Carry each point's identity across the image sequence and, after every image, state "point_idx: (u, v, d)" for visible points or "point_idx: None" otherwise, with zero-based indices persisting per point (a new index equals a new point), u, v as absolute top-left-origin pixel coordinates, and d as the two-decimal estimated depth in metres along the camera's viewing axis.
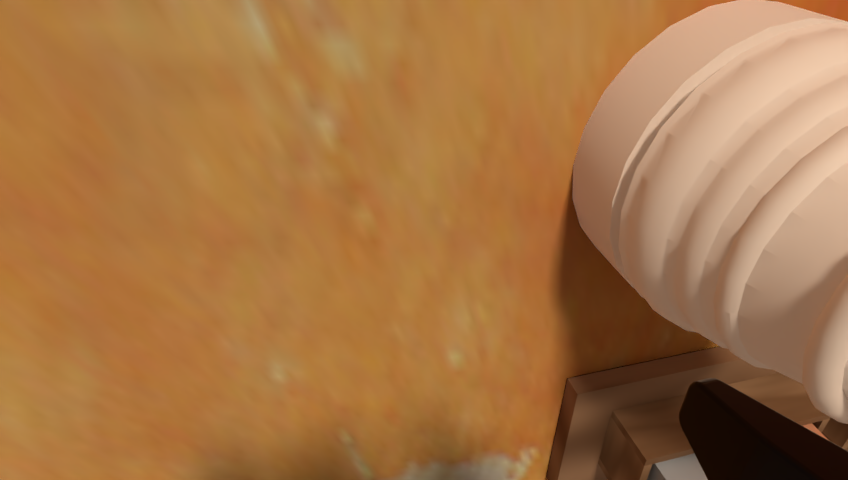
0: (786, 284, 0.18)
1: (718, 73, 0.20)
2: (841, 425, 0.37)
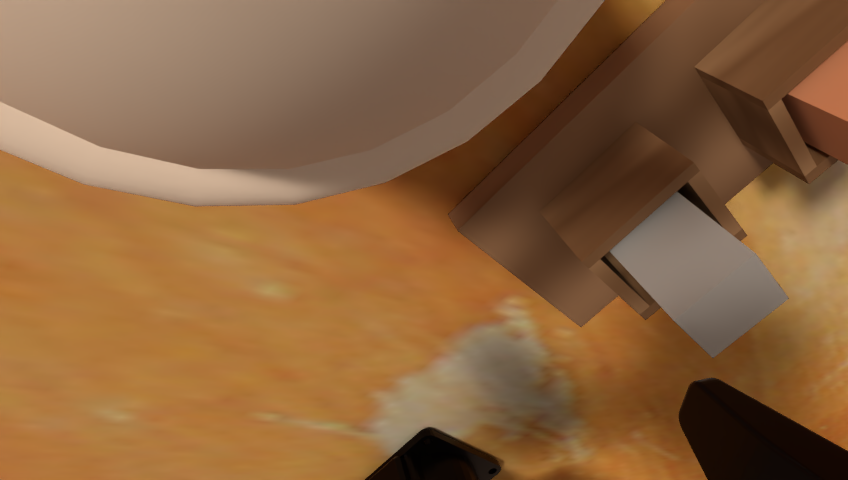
0: None
1: None
2: None
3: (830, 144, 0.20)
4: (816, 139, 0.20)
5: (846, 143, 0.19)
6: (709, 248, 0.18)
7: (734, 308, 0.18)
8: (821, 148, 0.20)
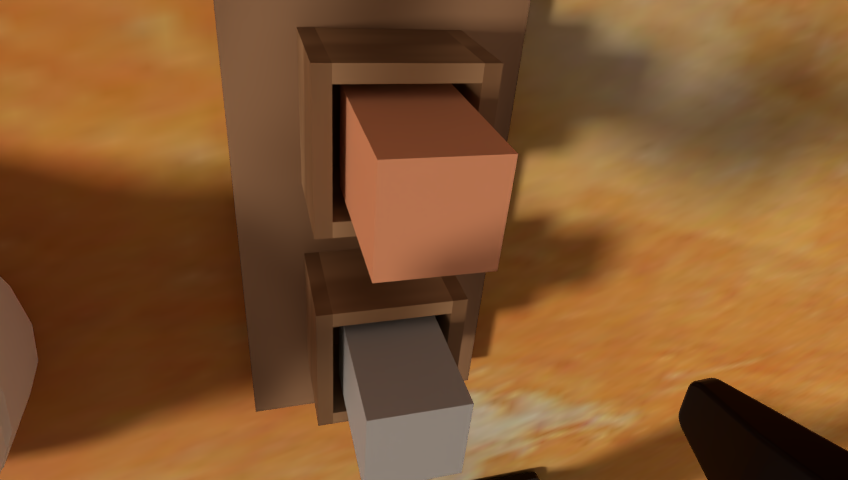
0: None
1: None
2: None
3: None
4: None
5: None
6: (358, 407, 0.17)
7: (417, 447, 0.17)
8: None
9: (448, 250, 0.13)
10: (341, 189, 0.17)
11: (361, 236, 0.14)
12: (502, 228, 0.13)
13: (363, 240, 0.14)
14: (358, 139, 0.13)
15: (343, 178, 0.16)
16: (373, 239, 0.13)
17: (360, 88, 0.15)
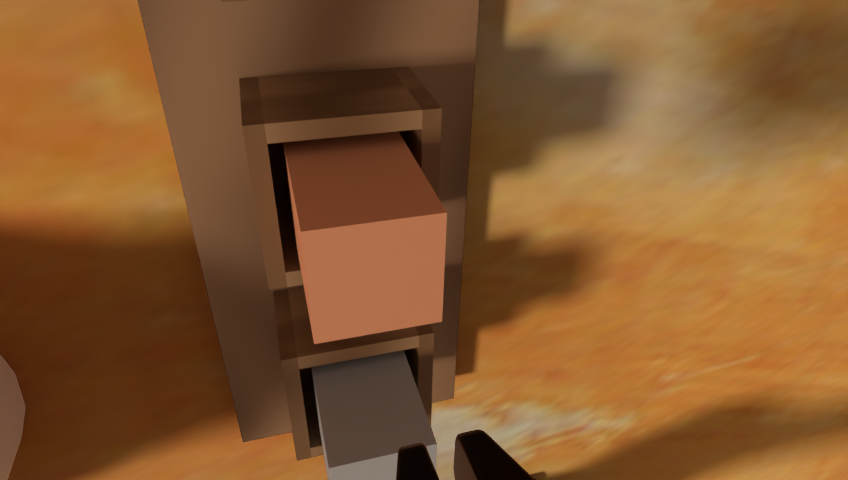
0: None
1: None
2: None
3: None
4: None
5: None
6: None
7: None
8: None
9: (388, 307, 0.13)
10: None
11: (305, 293, 0.14)
12: (441, 282, 0.13)
13: (307, 298, 0.14)
14: (293, 200, 0.13)
15: (294, 227, 0.16)
16: (309, 304, 0.13)
17: (301, 141, 0.15)
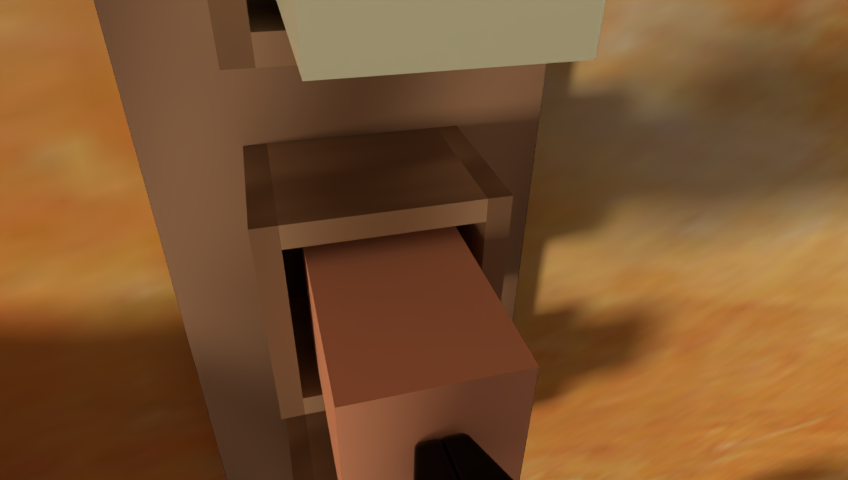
0: None
1: None
2: None
3: None
4: None
5: None
6: None
7: None
8: None
9: None
10: (314, 345, 0.13)
11: (333, 447, 0.11)
12: (522, 447, 0.10)
13: (335, 457, 0.10)
14: (318, 332, 0.10)
15: (313, 337, 0.13)
16: None
17: None
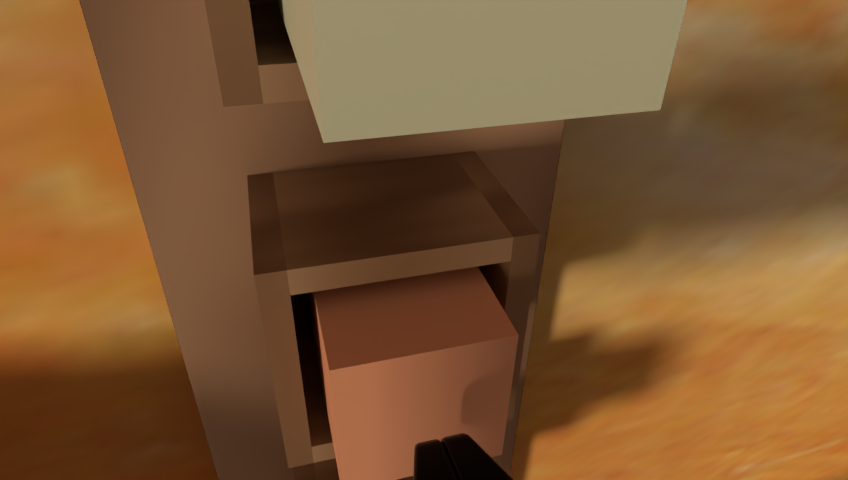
0: None
1: None
2: None
3: None
4: None
5: None
6: None
7: None
8: None
9: None
10: None
11: (329, 417, 0.11)
12: (504, 413, 0.10)
13: (331, 425, 0.11)
14: (314, 307, 0.10)
15: (311, 317, 0.13)
16: (337, 448, 0.10)
17: None
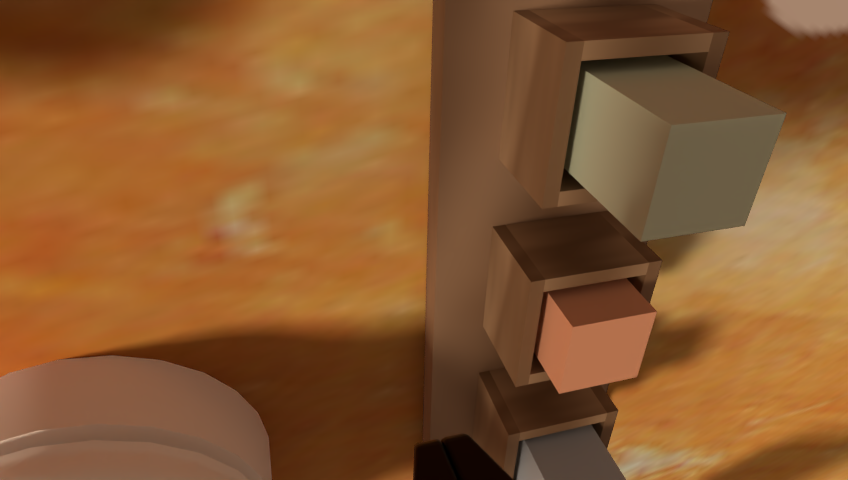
0: None
1: None
2: None
3: None
4: None
5: None
6: None
7: None
8: None
9: (607, 369, 0.20)
10: None
11: (543, 357, 0.21)
12: (642, 353, 0.20)
13: (546, 361, 0.21)
14: (543, 298, 0.20)
15: None
16: (563, 369, 0.20)
17: None
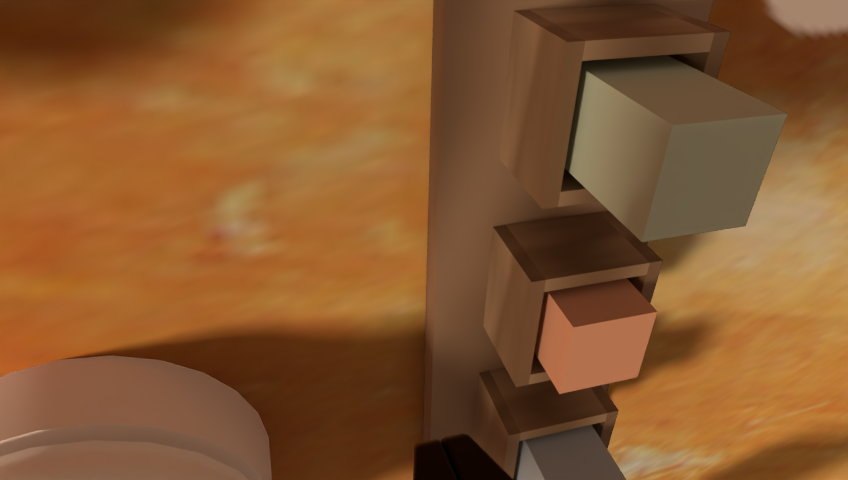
0: None
1: None
2: None
3: None
4: None
5: None
6: None
7: None
8: None
9: (608, 369, 0.20)
10: None
11: (543, 357, 0.21)
12: (643, 353, 0.20)
13: (546, 361, 0.21)
14: (543, 298, 0.20)
15: None
16: (563, 369, 0.20)
17: None
